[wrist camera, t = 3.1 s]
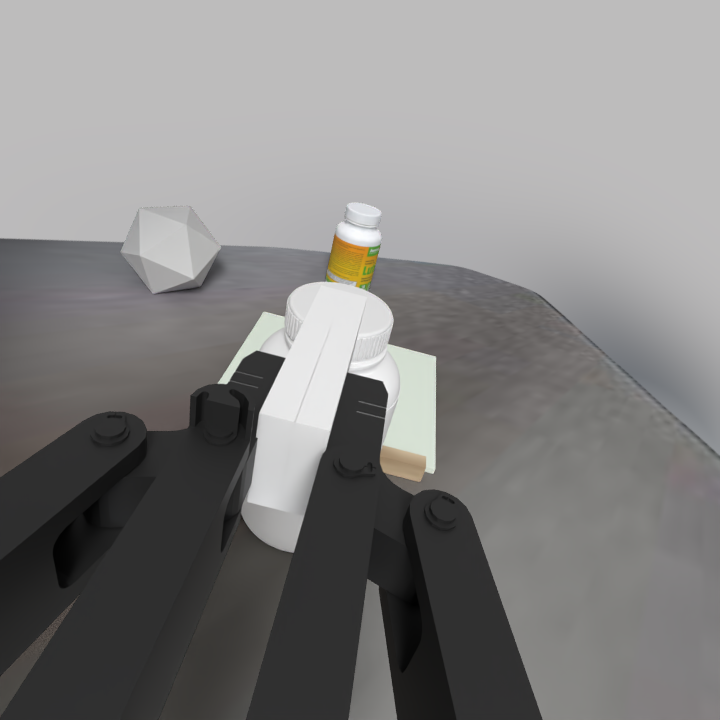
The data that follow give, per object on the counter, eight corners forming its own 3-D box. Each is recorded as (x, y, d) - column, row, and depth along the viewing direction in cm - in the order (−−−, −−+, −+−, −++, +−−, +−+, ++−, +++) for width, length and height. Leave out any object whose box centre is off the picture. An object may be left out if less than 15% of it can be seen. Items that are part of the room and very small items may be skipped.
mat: (433, 473, 38) (435, 469, 38) (201, 413, 38) (201, 408, 37) (434, 360, 51) (435, 356, 51) (263, 315, 51) (264, 311, 51)
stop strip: (419, 482, 37) (425, 468, 36) (208, 427, 37) (209, 411, 36) (420, 470, 38) (426, 456, 37) (214, 416, 38) (215, 401, 37)
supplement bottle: (362, 302, 58) (382, 222, 53) (318, 288, 59) (334, 207, 53) (372, 285, 63) (392, 209, 58) (332, 272, 63) (348, 196, 58)
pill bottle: (209, 500, 32) (226, 288, 23) (297, 442, 37) (336, 257, 29) (299, 585, 28) (357, 374, 20) (381, 508, 34) (451, 319, 26)
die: (195, 267, 58) (138, 193, 52) (248, 257, 53) (193, 175, 47) (152, 315, 53) (84, 240, 47) (207, 310, 48) (139, 225, 43)
